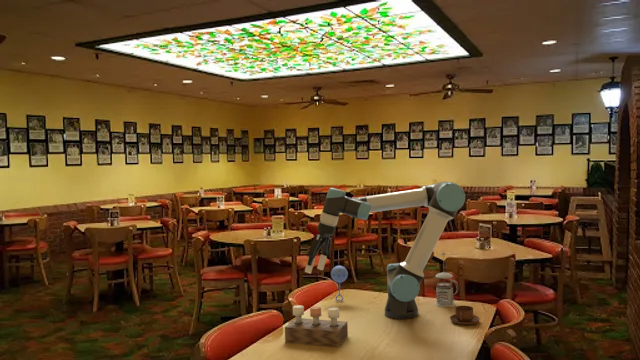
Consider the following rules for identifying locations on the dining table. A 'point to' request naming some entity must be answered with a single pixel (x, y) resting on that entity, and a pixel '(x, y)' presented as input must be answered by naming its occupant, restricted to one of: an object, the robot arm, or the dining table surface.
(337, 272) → the baby rattle
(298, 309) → the knob far
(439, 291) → the french press
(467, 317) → the cup and saucer
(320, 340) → the knob console
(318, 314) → the knob middle
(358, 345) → the dining table surface
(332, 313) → the knob near
